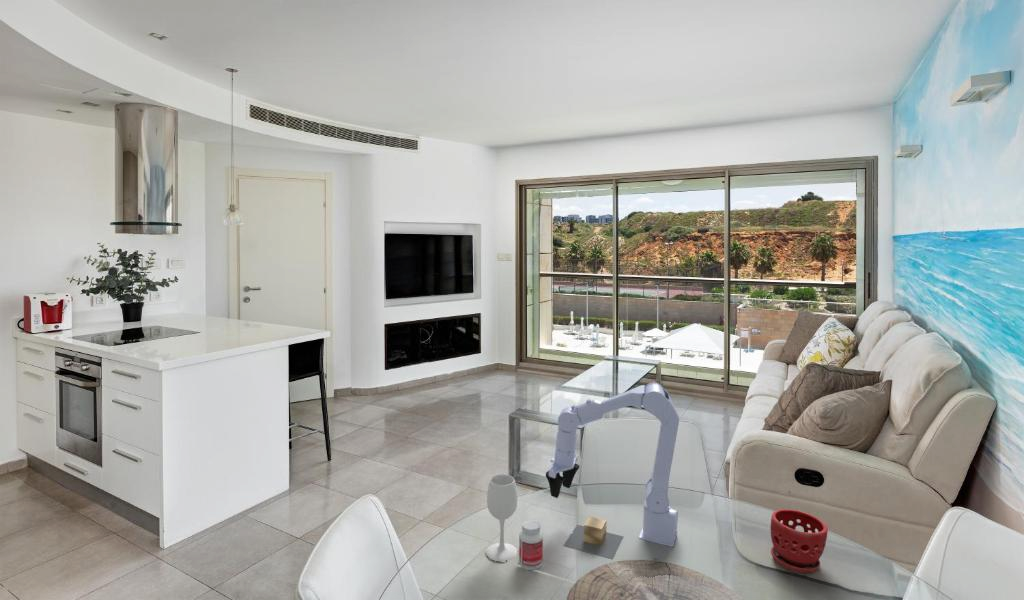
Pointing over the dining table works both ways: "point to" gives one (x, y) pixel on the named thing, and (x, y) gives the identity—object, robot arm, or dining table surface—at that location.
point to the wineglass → (502, 513)
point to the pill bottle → (530, 545)
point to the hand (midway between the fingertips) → (560, 491)
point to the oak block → (595, 531)
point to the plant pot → (797, 540)
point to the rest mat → (605, 550)
